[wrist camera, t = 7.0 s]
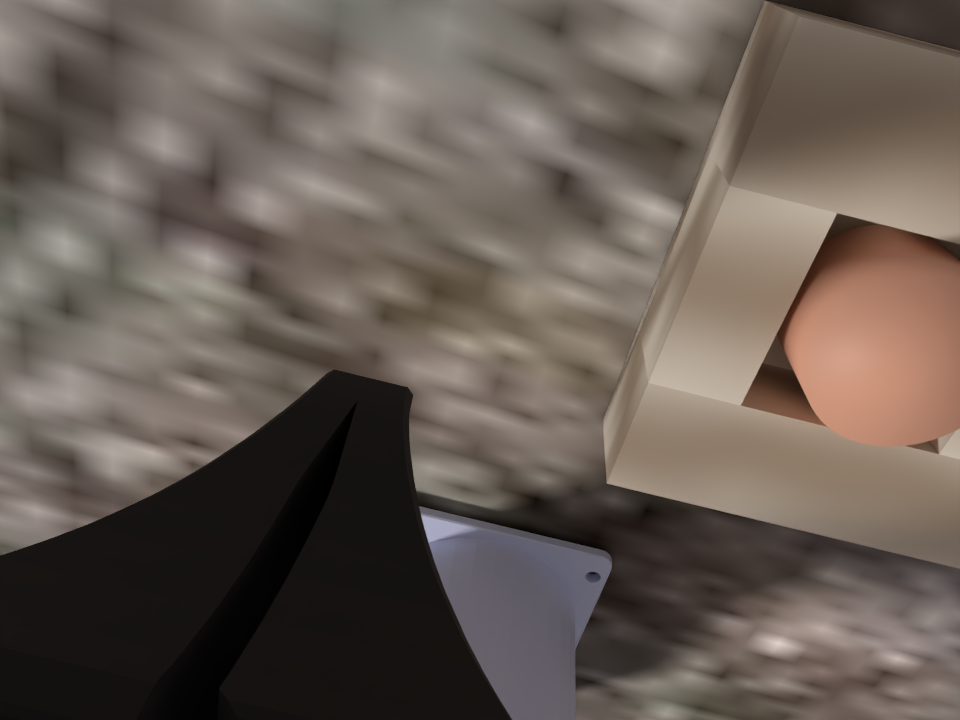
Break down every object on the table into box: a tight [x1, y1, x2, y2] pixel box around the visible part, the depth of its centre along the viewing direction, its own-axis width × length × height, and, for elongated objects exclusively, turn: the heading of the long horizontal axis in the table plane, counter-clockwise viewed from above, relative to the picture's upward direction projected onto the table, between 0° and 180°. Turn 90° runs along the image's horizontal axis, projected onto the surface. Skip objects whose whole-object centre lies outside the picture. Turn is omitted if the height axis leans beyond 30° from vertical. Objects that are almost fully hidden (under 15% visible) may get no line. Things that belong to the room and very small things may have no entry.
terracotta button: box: [777, 224, 960, 447], centre depth 18 cm, size 4×4×3 cm
